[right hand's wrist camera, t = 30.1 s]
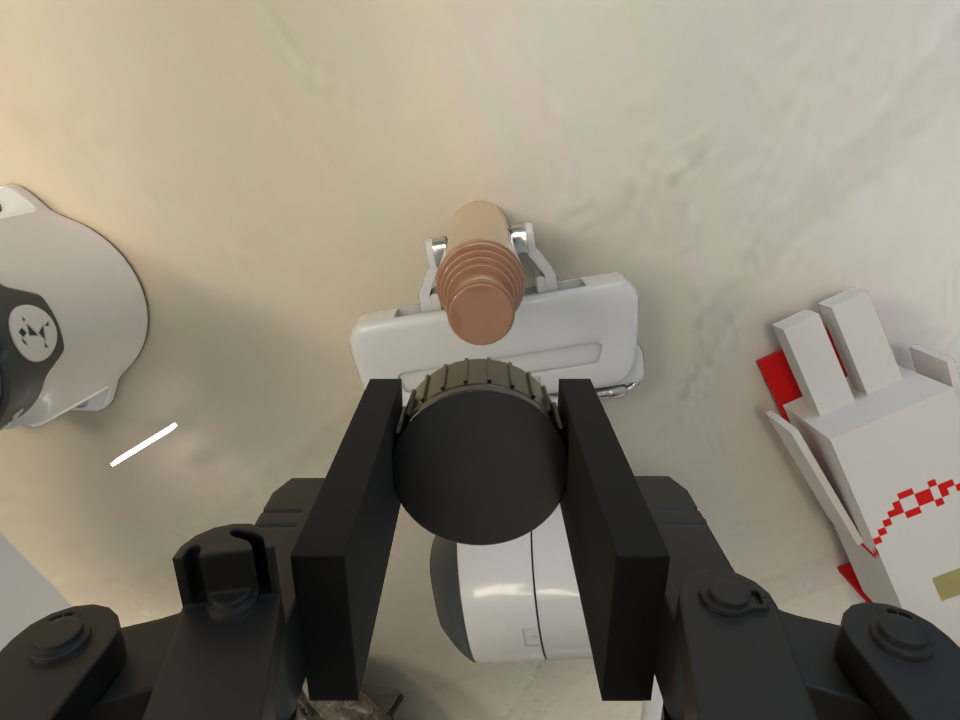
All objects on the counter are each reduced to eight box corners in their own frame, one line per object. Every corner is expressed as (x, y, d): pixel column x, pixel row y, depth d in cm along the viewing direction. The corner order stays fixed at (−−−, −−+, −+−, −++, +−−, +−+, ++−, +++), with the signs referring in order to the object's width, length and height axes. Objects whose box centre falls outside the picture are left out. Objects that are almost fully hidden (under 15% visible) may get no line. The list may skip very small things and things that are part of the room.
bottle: (520, 232, 47) (557, 318, 25) (478, 270, 48) (477, 385, 26) (482, 188, 46) (484, 238, 24) (439, 228, 47) (404, 312, 25)
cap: (445, 326, 14) (440, 355, 12) (591, 401, 15) (607, 438, 13) (373, 459, 15) (359, 504, 13) (511, 522, 16) (515, 573, 14)
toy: (949, 279, 39) (1084, 646, 44) (842, 263, 52) (956, 548, 57) (767, 362, 41) (917, 703, 46) (708, 326, 54) (830, 596, 59)
